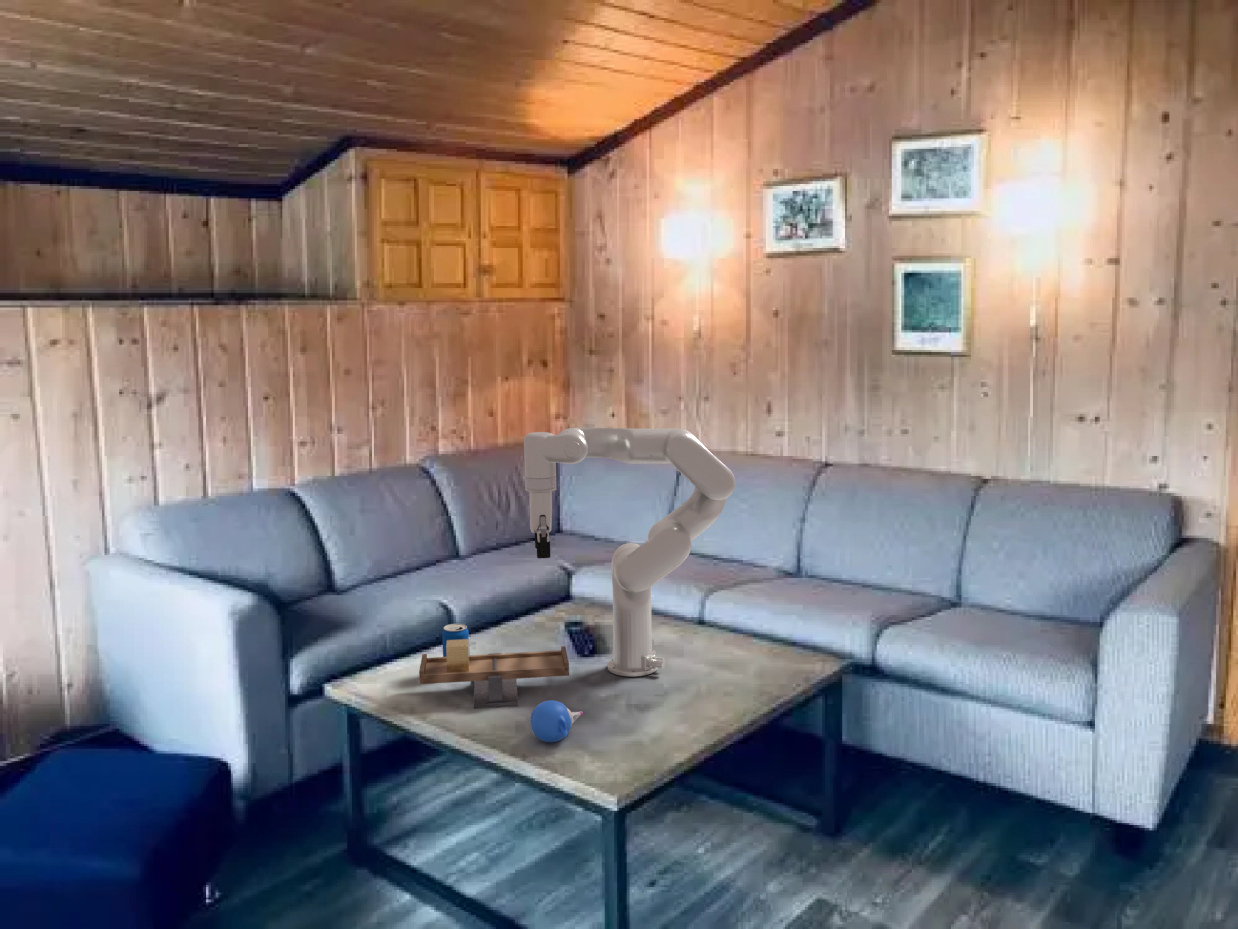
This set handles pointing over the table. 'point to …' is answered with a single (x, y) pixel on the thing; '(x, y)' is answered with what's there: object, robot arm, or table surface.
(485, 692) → the beam stand
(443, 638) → the beverage can
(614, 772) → the table surface
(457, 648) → the rider
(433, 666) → the beam
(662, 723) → the table surface
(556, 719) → the blue mole toy
